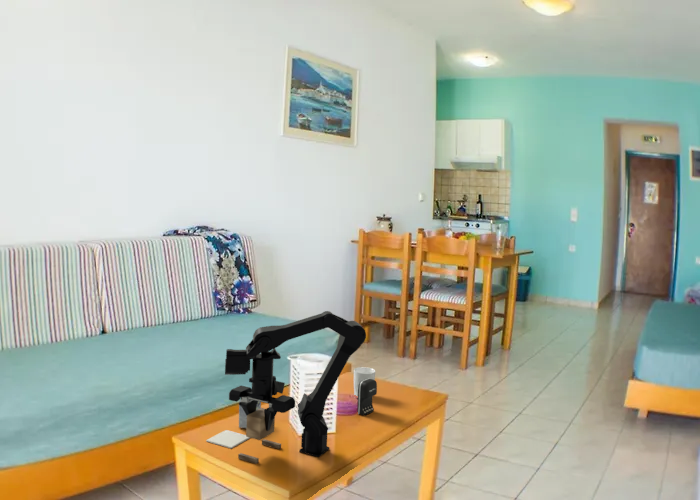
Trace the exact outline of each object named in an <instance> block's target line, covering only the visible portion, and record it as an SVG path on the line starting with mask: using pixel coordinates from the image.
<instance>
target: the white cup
mask: <svg viewBox="0 0 700 500" xmlns="http://www.w3.org/2000/svg"><path fill="white" fill-rule="evenodd" d="M367 378H370V379H373V380H375V379H376V370H375V368H372V367H368V366H367V367H365V366H364V367H362V366H360V367H355V368H354V369H353V396H354V395H356V396H358V385H359V382H360V381H362V380H364V379H367ZM375 381H376V380H375Z"/></svg>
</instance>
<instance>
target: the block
mask: <svg viewBox="0 0 700 500" xmlns="http://www.w3.org/2000/svg"><path fill="white" fill-rule="evenodd" d="M265 409H266V408H264V407H261V408H260V409H259V410H257V411H255V412H253V413H251V414H249V415H247V428H245V429H246V430H245V431H246V434H245V435H246V437H250V438H249V439H254V440H258V441H262V440H263V439H265V438H266V437H268V436H270V435H272V434H273V433H274V432H275V421H276V419H275V418H276V416H275V417H274V420H273V422H272V425H271V427H270V430H269V431H266V427H265V415H264V410H265Z"/></svg>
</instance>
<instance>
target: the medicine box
mask: <svg viewBox="0 0 700 500" xmlns="http://www.w3.org/2000/svg"><path fill="white" fill-rule="evenodd" d="M239 402H240V400H238V403H239ZM238 408H239V409H238V428H241V429H246V428H247V416H246V414H245V412H244V410H243V408H242V407H241V406H240V405H239V404H238ZM260 408H262V402H259V401H258V403H257V406H256V411H257V410H259V409H260Z"/></svg>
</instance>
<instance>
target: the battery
mask: <svg viewBox="0 0 700 500" xmlns="http://www.w3.org/2000/svg"><path fill="white" fill-rule="evenodd" d="M377 392H378V382H377V381H376V380H373V379H370V378H367V379H364V380H362V381H360V382H359V385H358V399H357V407H356V409H357V412H358V414H357V415H359V414H361V416H368V415H370V414H372V413H374V411H375V410H374V409H375V408H374V405H373V397H374V396H376V395H377ZM357 412H356V413H357ZM369 413H370V414H369ZM367 414H368V415H367Z"/></svg>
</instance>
